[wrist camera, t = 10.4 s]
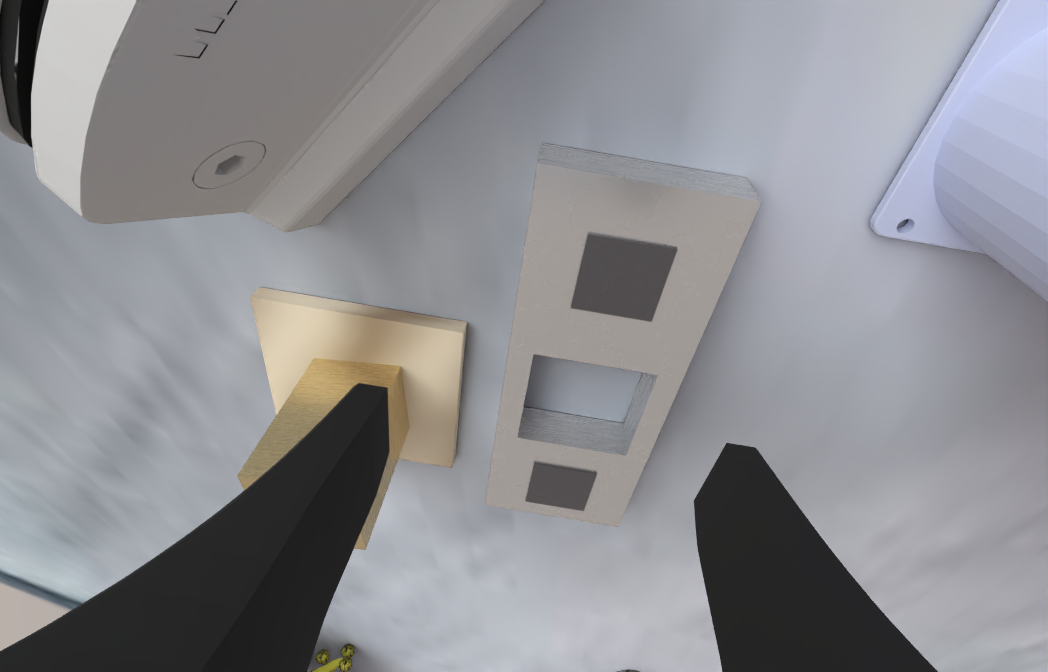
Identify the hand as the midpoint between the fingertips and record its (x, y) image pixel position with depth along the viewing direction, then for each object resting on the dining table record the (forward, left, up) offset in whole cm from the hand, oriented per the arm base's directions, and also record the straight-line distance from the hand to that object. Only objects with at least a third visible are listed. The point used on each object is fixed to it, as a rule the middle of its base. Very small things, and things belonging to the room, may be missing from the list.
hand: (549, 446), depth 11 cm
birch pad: (+8, +9, -10) cm, 16 cm away
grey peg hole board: (-2, +6, -10) cm, 12 cm away
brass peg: (+8, +10, -10) cm, 16 cm away
